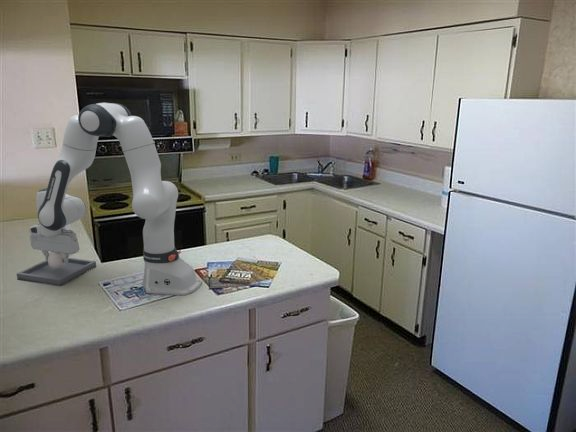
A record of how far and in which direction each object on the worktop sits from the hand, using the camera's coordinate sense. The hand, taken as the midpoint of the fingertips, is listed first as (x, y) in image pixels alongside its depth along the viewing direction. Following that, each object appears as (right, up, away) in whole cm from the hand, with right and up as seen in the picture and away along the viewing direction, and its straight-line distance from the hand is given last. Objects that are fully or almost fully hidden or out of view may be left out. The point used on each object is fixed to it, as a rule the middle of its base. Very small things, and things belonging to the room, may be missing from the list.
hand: (57, 261), depth 174 cm
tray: (0, -5, +1) cm, 5 cm away
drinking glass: (-9, +1, +23) cm, 25 cm away
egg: (0, -3, +1) cm, 3 cm away
